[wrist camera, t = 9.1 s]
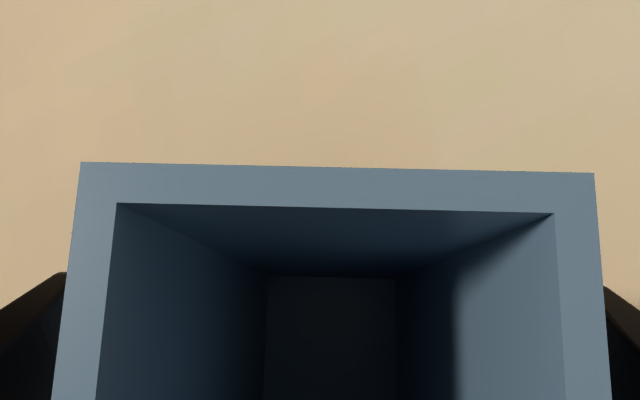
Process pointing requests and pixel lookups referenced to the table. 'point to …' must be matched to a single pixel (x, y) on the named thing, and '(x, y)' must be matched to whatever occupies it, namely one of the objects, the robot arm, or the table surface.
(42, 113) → the table surface
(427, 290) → the tall slate-blue crate
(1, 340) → the robot arm
